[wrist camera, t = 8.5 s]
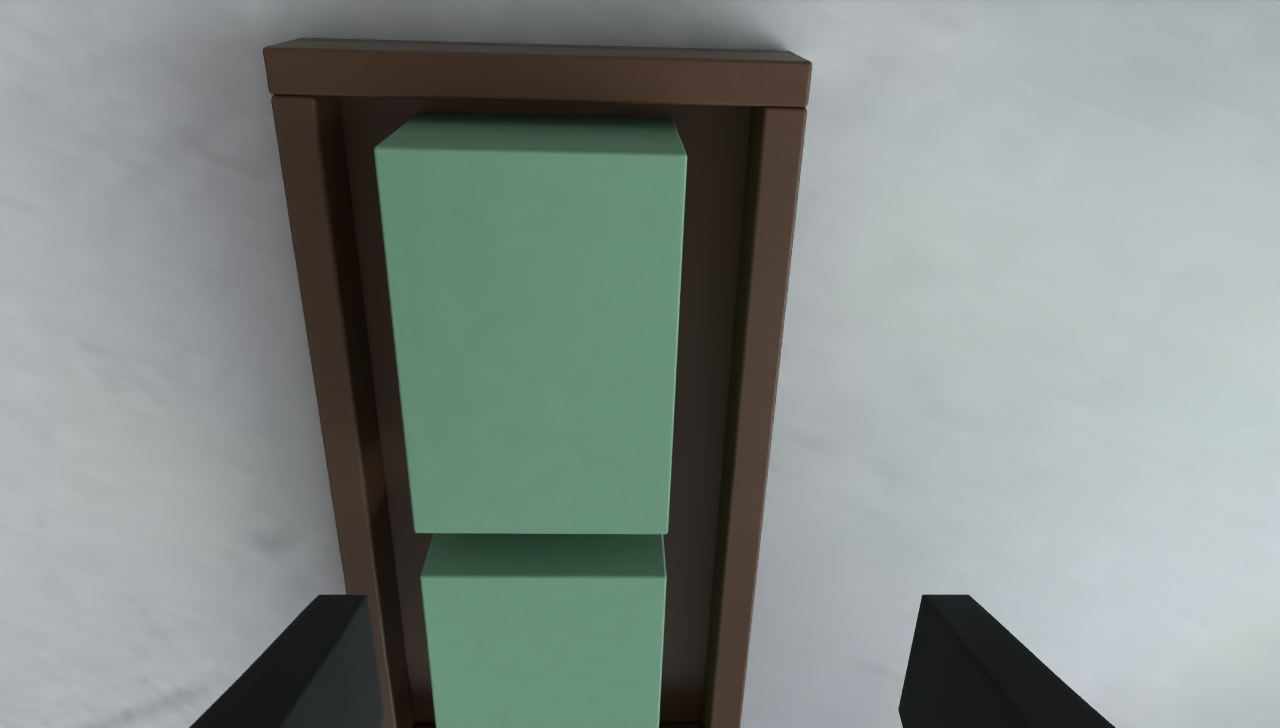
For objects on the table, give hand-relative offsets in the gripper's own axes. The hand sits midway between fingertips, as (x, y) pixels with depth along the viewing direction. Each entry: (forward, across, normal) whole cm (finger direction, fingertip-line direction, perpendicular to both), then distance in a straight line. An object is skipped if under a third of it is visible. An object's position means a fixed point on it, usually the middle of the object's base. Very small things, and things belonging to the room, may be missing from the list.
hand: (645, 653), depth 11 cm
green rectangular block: (+9, +2, -2) cm, 9 cm away
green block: (+9, +2, +7) cm, 11 cm away
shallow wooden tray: (+9, +2, +3) cm, 10 cm away
